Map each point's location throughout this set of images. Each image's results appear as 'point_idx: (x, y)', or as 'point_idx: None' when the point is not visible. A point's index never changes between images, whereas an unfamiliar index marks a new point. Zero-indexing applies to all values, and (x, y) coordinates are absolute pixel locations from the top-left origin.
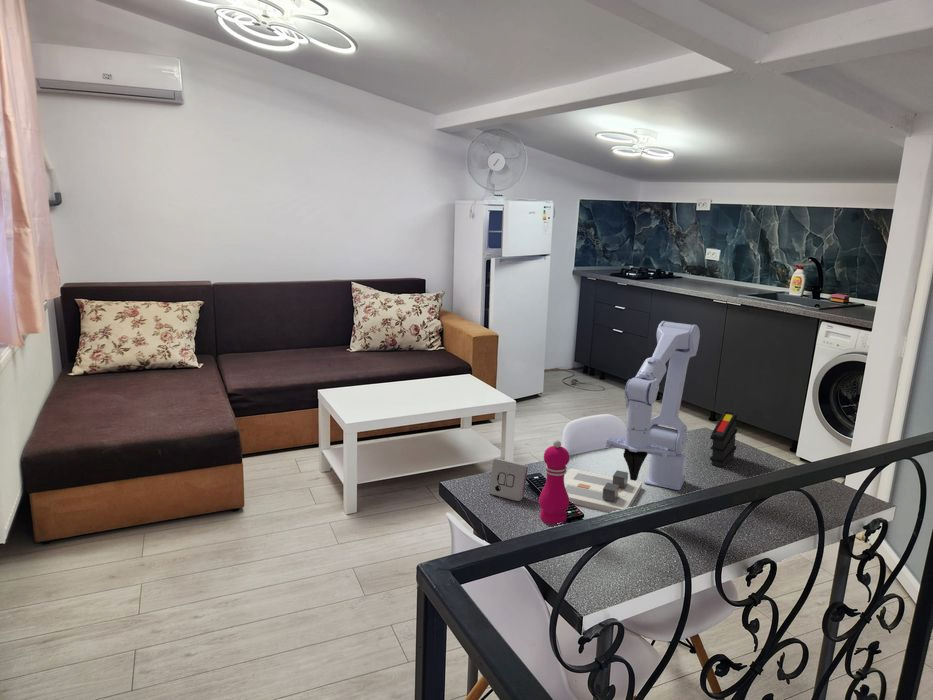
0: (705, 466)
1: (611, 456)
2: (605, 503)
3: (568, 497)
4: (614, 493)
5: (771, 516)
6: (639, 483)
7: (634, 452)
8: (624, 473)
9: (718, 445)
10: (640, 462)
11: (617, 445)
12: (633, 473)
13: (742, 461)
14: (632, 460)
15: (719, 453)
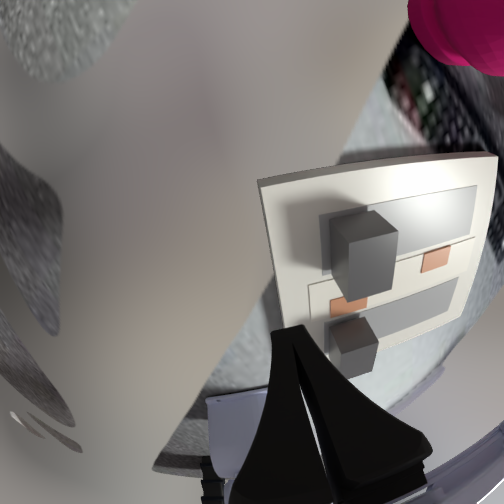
0: None
1: (379, 402)
2: (353, 189)
3: (472, 19)
4: (344, 236)
5: (38, 384)
6: None
7: (344, 498)
8: (347, 372)
9: (211, 488)
10: (258, 460)
11: (492, 469)
12: (299, 363)
13: (191, 467)
14: (337, 446)
15: (208, 476)
